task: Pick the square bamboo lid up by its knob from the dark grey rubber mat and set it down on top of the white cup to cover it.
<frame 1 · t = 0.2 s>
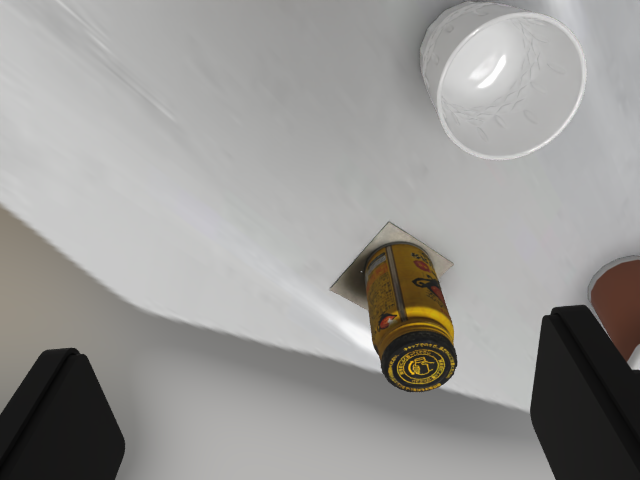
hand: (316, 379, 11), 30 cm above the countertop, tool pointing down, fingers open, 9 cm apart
white cup: (466, 52, 37), on the countertop
condiment: (390, 274, 47), on the countertop
coffee cup: (623, 284, 47), on the countertop
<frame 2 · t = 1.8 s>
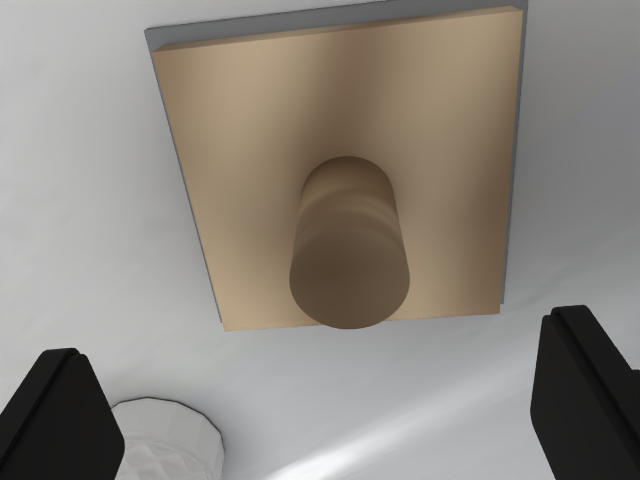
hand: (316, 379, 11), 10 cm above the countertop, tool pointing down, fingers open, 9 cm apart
white cup: (162, 438, 28), on the countertop
mat: (346, 180, 20), on the countertop
lid: (346, 185, 19), resting on mat
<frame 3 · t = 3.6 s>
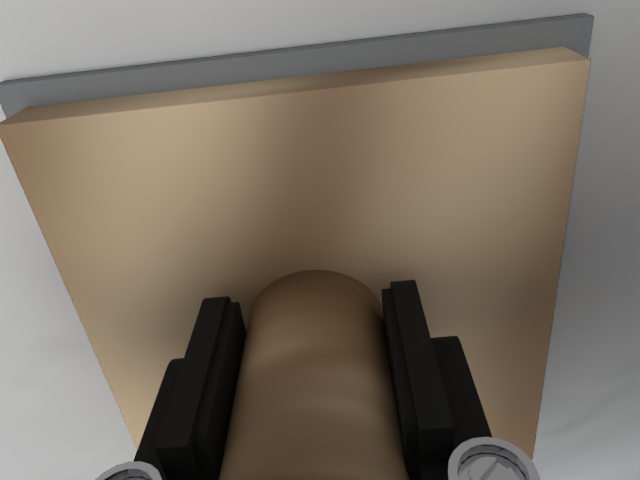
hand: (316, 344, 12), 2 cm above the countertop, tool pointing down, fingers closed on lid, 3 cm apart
mat: (317, 286, 14), on the countertop
lid: (317, 295, 13), resting on mat, touching gripper
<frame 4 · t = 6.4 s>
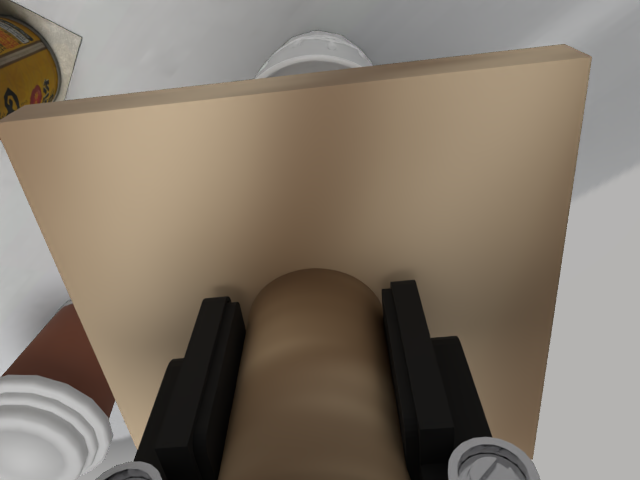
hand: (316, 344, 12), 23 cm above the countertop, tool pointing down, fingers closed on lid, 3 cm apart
white cup: (319, 87, 32), on the countertop
lid: (317, 294, 13), point 22 cm above the countertop, touching gripper
coffee cup: (97, 326, 42), on the countertop
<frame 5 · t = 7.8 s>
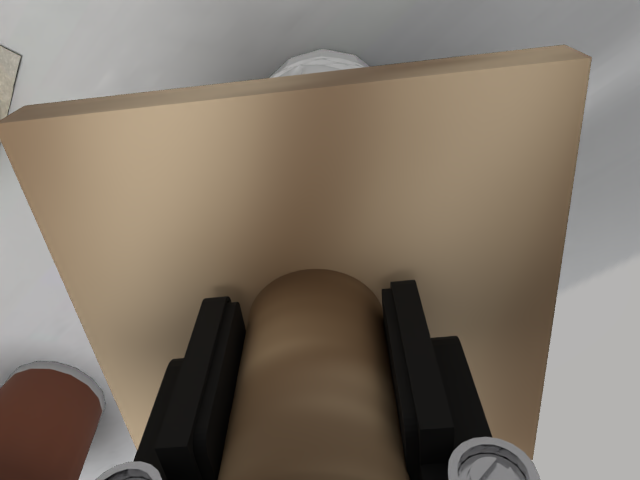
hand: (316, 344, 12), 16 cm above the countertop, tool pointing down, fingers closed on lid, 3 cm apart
white cup: (325, 119, 26), on the countertop
lid: (317, 294, 13), point 14 cm above the countertop, touching gripper
coffee cup: (58, 394, 35), on the countertop
when the fingers open (13 cm above the countertop, at t = 9.0 s): lid drops 1 cm, resting on white cup.
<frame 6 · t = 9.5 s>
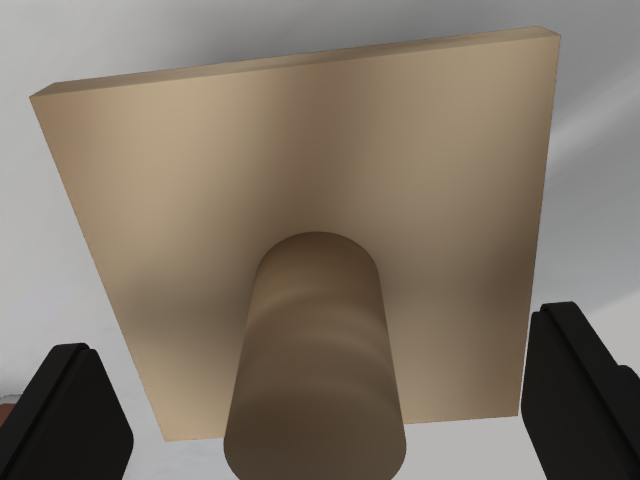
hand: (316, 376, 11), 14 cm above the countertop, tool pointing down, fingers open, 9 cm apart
lid: (317, 260, 15), point 10 cm above the countertop, touching white cup
coffee cup: (35, 428, 33), on the countertop
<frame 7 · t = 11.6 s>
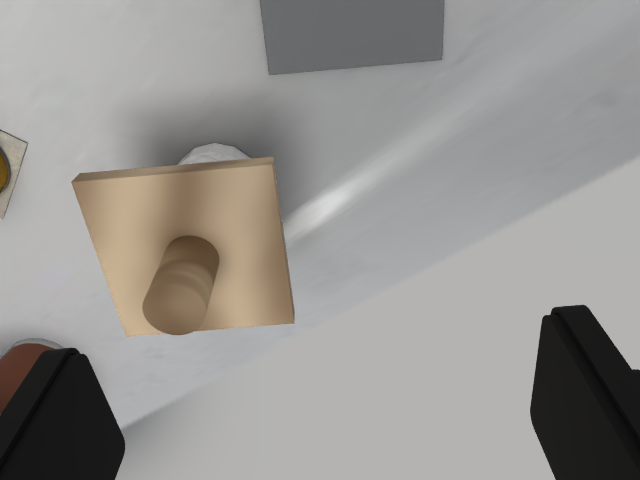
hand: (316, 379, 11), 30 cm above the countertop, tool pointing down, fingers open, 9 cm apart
white cup: (219, 182, 41), on the countertop, touching lid
lid: (195, 248, 32), point 10 cm above the countertop, touching white cup
coffee cup: (43, 362, 50), on the countertop
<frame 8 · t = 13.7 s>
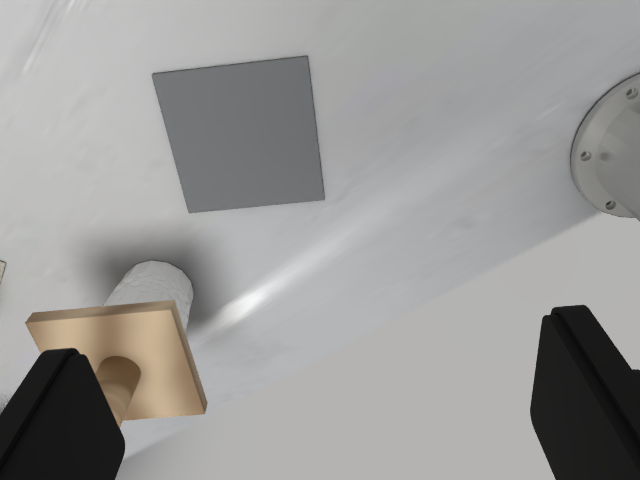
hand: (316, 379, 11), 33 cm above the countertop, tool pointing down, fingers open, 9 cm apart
white cup: (159, 287, 51), on the countertop, touching lid
mat: (243, 139, 43), on the countertop
lid: (125, 360, 42), point 10 cm above the countertop, touching white cup
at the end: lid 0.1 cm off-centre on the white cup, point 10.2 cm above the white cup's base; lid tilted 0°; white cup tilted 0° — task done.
